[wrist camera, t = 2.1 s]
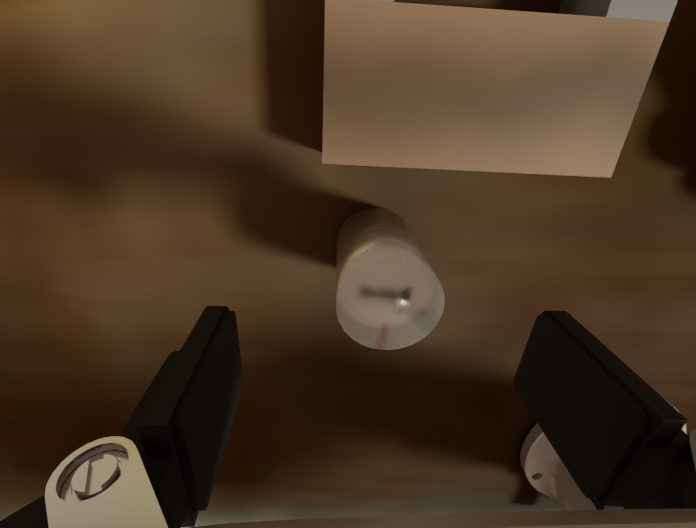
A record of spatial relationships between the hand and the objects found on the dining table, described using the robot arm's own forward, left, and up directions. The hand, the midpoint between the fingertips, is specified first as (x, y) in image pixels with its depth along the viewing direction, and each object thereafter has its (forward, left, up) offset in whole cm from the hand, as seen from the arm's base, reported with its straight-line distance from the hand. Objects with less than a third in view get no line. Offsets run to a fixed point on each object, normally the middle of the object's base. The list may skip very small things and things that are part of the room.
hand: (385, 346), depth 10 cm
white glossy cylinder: (-1, -1, -10) cm, 10 cm away
